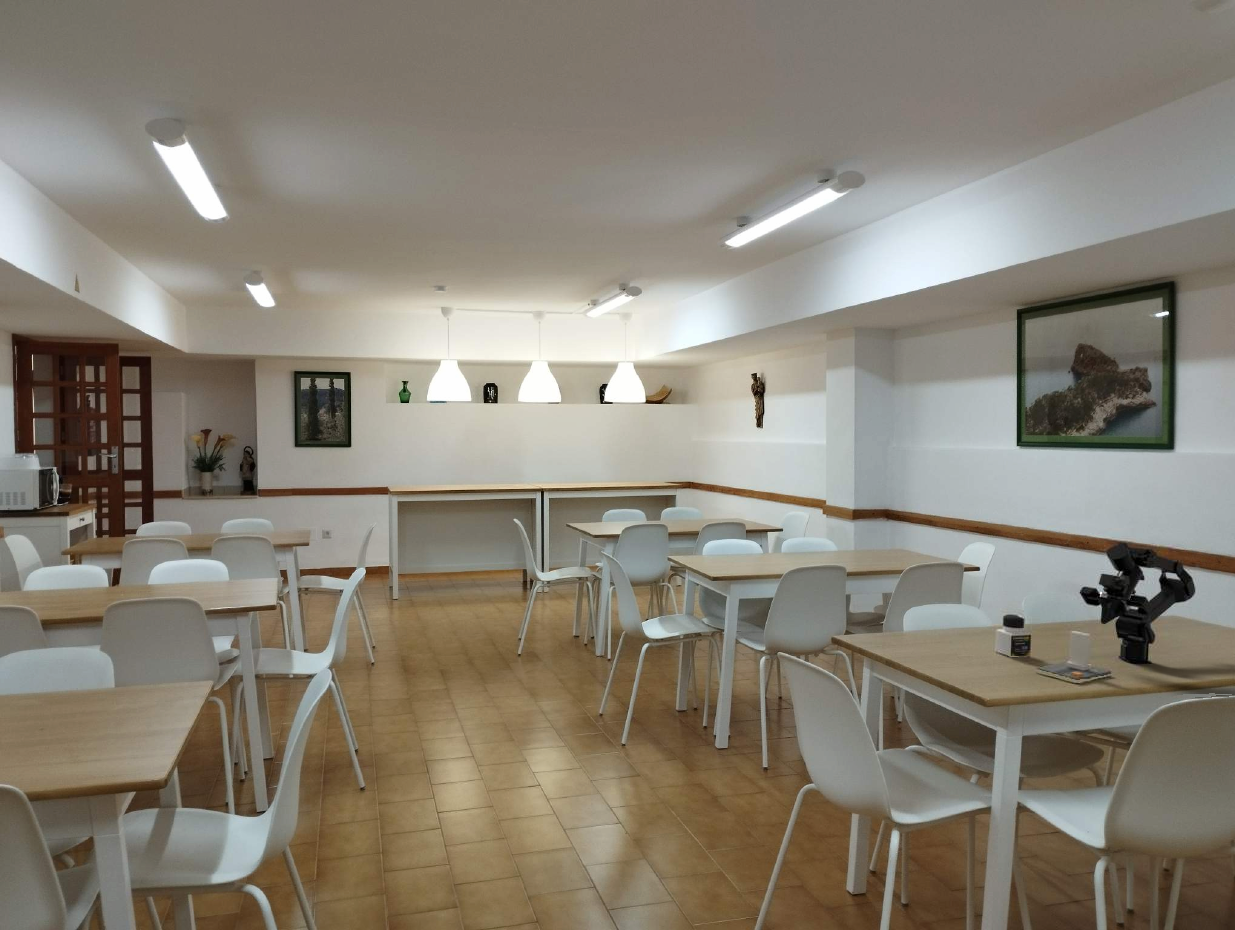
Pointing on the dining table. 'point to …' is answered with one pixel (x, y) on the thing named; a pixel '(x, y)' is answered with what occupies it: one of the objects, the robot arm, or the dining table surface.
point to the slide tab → (1079, 651)
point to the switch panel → (1074, 671)
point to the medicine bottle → (1013, 637)
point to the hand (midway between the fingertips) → (1102, 623)
